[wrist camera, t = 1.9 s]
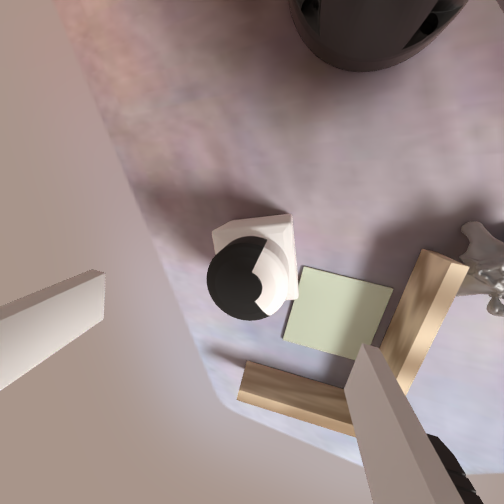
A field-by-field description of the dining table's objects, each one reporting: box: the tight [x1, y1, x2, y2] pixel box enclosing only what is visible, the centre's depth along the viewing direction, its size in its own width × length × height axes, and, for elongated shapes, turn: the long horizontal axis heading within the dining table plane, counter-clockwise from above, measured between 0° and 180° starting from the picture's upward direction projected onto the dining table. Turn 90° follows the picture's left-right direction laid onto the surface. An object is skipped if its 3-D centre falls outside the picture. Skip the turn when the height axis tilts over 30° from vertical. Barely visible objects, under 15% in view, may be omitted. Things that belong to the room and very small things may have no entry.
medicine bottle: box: [207, 214, 299, 321], centre depth 23 cm, size 7×7×12 cm
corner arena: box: [237, 249, 470, 437], centre depth 27 cm, size 21×16×5 cm
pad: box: [283, 266, 393, 360], centre depth 29 cm, size 10×10×1 cm
